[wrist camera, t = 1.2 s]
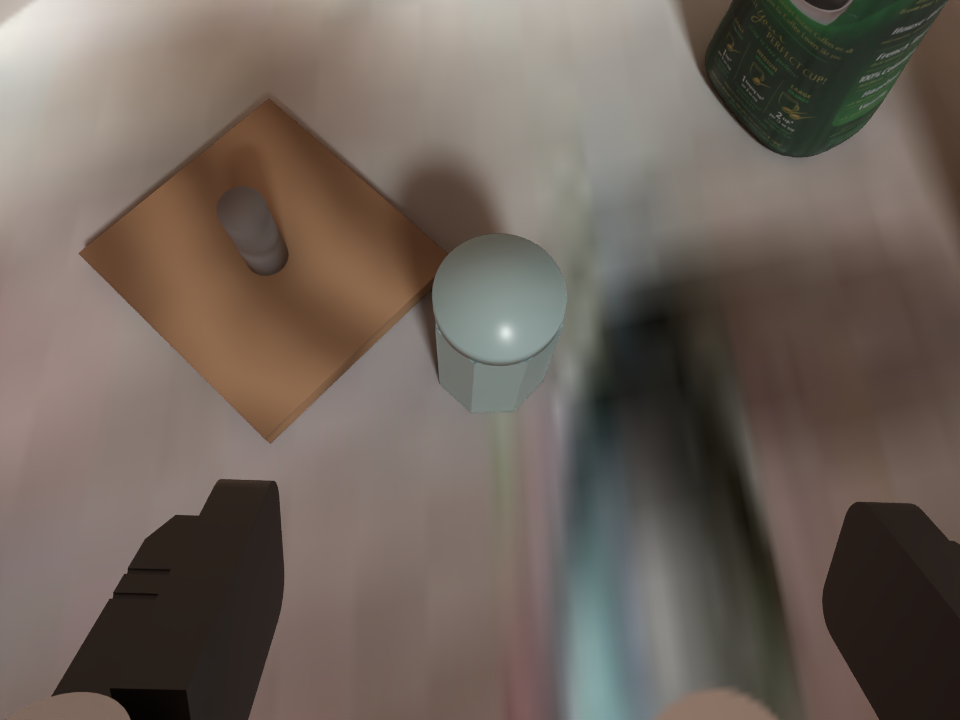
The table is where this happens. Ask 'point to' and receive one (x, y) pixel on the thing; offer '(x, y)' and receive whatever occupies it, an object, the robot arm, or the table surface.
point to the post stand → (268, 266)
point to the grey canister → (496, 320)
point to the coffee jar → (812, 65)
